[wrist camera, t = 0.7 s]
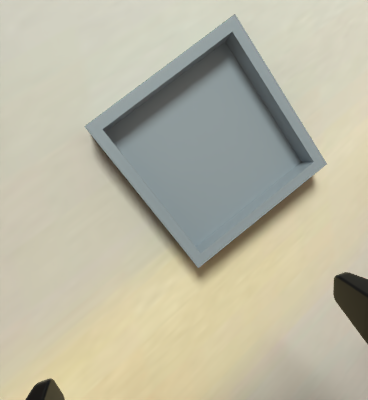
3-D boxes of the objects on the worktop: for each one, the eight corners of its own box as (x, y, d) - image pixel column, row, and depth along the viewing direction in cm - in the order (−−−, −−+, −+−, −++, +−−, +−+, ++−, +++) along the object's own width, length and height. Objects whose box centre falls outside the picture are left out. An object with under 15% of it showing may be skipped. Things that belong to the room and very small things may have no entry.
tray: (309, 164, 24) (327, 163, 22) (192, 258, 23) (198, 268, 21) (224, 29, 21) (234, 13, 19) (89, 130, 20) (84, 126, 18)
